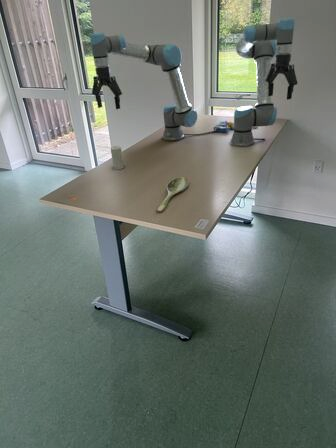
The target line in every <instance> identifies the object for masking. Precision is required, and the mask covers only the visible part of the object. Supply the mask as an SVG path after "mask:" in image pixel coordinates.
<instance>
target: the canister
mask: <svg viewBox="0 0 336 448" xmlns="http://www.w3.org/2000/svg"><path fill="white" fill-rule="evenodd" d="M109 149H110V154H111V160H112V166H113V169H114V170H122V169H124V168H125V164H124V159H123V153H122V152H123V151H122V147H121V146H120V145H115V146H111V147H110V148H109Z"/></svg>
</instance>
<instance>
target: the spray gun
mask: <svg viewBox="0 0 336 448" xmlns="http://www.w3.org/2000/svg"><path fill="white" fill-rule="evenodd" d="M232 128H234V121H227V120H220V121H219V122H218V123H217V124H216V125H215V126H214V127H213V131H217V132H220V133H228V132H230V129H232Z"/></svg>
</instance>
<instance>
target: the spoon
mask: <svg viewBox="0 0 336 448" xmlns="http://www.w3.org/2000/svg"><path fill="white" fill-rule="evenodd" d="M189 184H190V182H189V179H188V177H186V176H179V177H175V178H173V179H172V180H170V181H169V182H168V183H167V184H166V190H167V196H166V197H165V198H164V200H163V201H162V202H161V203H160V205H159V206H158V208H157V212H159V213H161V212H163V211H164V210H166V207H167V205H168V203H169V201H170V199H171V198H172V197H173V196H175V195H177V194H178V193H181V192H182V191H184V190H185V189H187V187H188V186H189Z"/></svg>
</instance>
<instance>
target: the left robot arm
mask: <svg viewBox="0 0 336 448" xmlns="http://www.w3.org/2000/svg"><path fill="white" fill-rule="evenodd" d="M89 39H90V47H91V52H92V57H93V62H94V67H95V74H96V76H93V77H92V78H93V84H92V90H91V95H94V96H95V101H96V105H97V108H98V109H100V108H103V103H102V97H101V94H100V93H101V91H102V88H103V86H105V87H107V88H109V90H110V91H111V93H112V94H113V95H114V97H113V98H114V104H115V109H116V110H119V109H121V98H120V97H121V96H122V95H123V92H122V90H121V87H120V86H119V84H118V82H117V79H116V76H115V75H114V76H111V67H110V61H109V55H108V54H111V55H115V56H121V57H127V58H131V59H135V60H140V61H141V62H142V63H147V64H150V65H154V66H160V67H161V70H162V72H163V73H165V75H166V78H167V82H168V86H169V88H170V91H171V95H172V98H173V102H174V104H172V105H166V106H165V107H163V113H162V114H163V123H164V130H163V135H162V139H163V140H164V141H167V142H176V141H180V140H182V139H184V137H185V136H202V135H207V134H210V133H211V134H212V133H216V132H218V131H214V130H212V131H208V132H204V133H203V132H202V133H192V134H191V133H184V132H183V129H182V127H185V128H192V127H194V126H195V124H196V123H197V121H198V113H197V110H195V109H193V107H192V103H189V100H188V97H187V92H186V89H185V86H184V82H183V78H182V74H181V72H180V66H181V63H182V58H183V56H182V51H181V49H180V47H179V46H178V45H176V44H172V43H167V44H142V45H140V44H136V43H131V42H128V41H126V38H125V36H123V35H122V34H120V35H119V34H117V35H107V36H106V35H105V33H104V32H97V33H96V32H95V33H91V34H90V36H89ZM258 128H259V127H252V129H258ZM230 130H234V128H230ZM230 130H229V131H230Z"/></svg>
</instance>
